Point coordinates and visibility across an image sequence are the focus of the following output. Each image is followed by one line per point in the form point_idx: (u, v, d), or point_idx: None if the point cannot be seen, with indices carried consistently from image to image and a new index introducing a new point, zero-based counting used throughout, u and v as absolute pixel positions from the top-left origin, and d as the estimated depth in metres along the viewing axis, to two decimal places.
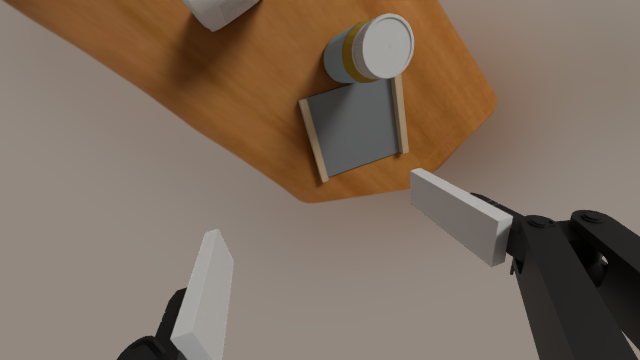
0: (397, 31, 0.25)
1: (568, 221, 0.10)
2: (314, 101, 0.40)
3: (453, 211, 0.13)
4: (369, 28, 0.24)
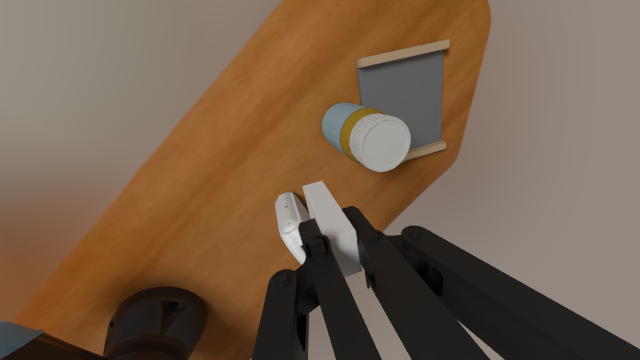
0: (374, 136, 0.25)
1: (400, 241, 0.11)
2: None
3: None
4: (369, 166, 0.26)
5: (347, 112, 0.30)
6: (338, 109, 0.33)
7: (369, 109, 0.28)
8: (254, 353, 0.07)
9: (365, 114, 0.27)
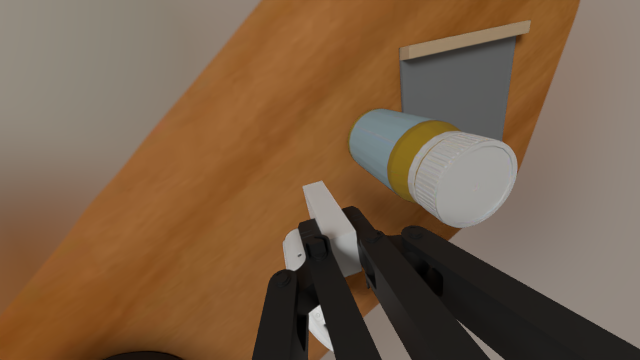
0: (461, 173, 0.15)
1: (400, 241, 0.11)
2: None
3: None
4: (446, 221, 0.16)
5: (397, 126, 0.20)
6: (378, 120, 0.23)
7: (438, 123, 0.18)
8: (254, 353, 0.07)
9: (435, 132, 0.17)
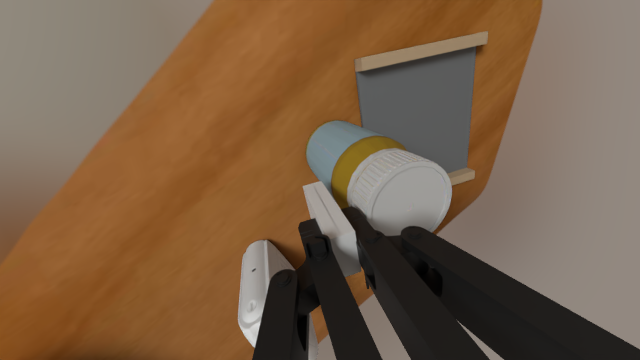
0: (391, 194, 0.14)
1: (400, 241, 0.11)
2: None
3: None
4: None
5: (342, 141, 0.19)
6: (329, 133, 0.22)
7: (379, 139, 0.17)
8: (255, 353, 0.07)
9: (373, 149, 0.16)
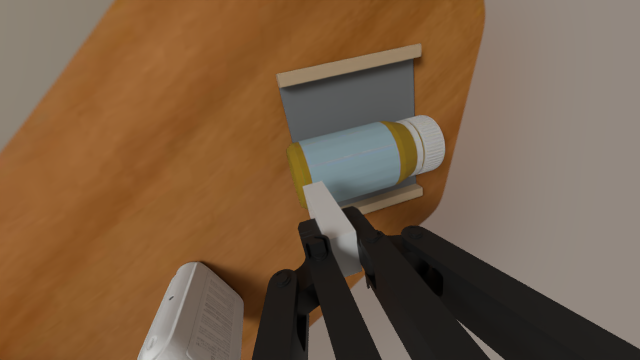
0: None
1: (400, 241, 0.11)
2: None
3: None
4: None
5: (375, 135, 0.22)
6: (340, 144, 0.22)
7: (388, 121, 0.24)
8: (254, 353, 0.07)
9: (400, 125, 0.24)
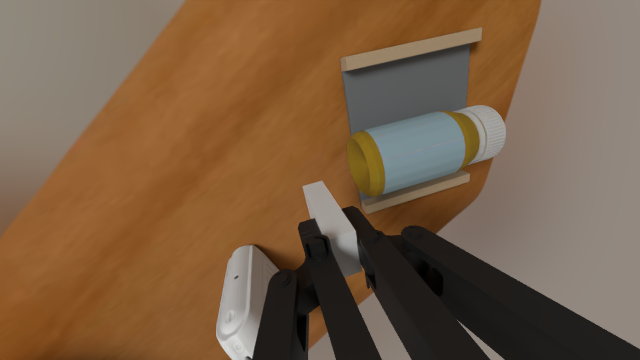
0: None
1: (400, 241, 0.11)
2: None
3: None
4: None
5: (444, 128, 0.23)
6: (411, 137, 0.22)
7: (452, 112, 0.24)
8: (254, 353, 0.07)
9: (465, 117, 0.24)
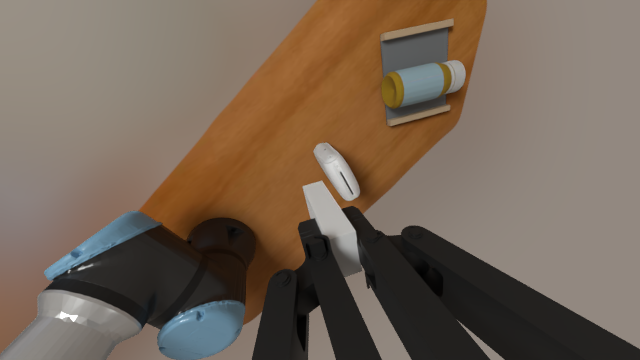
0: None
1: (400, 241, 0.11)
2: (390, 112, 0.53)
3: None
4: None
5: (433, 69, 0.45)
6: (416, 72, 0.45)
7: None
8: (254, 353, 0.07)
9: (444, 64, 0.46)
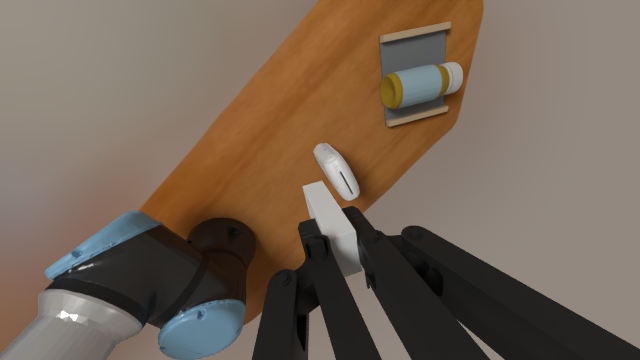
0: None
1: (400, 241, 0.11)
2: (389, 113, 0.53)
3: None
4: (456, 90, 0.50)
5: (431, 70, 0.46)
6: (415, 74, 0.45)
7: (436, 64, 0.47)
8: (254, 353, 0.07)
9: (442, 66, 0.47)
